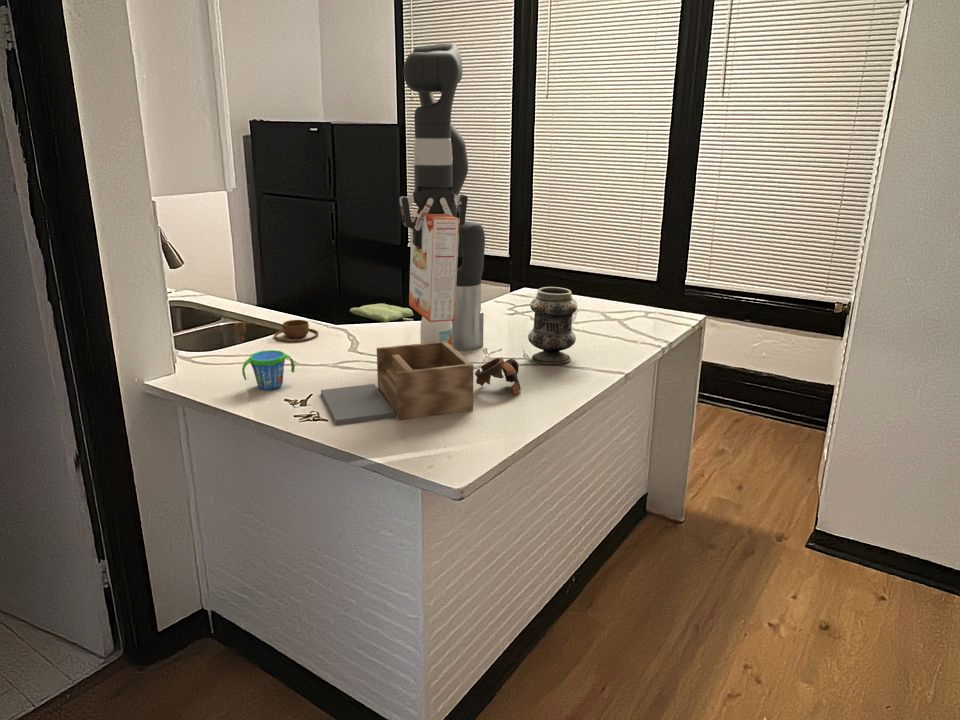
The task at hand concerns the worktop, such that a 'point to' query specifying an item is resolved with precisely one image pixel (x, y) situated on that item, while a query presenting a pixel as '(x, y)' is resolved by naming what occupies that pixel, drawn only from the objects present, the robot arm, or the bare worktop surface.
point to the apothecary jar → (552, 325)
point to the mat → (356, 404)
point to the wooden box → (426, 380)
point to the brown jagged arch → (499, 372)
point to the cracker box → (435, 268)
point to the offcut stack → (397, 368)
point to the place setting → (286, 331)
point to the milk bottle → (436, 331)
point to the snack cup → (268, 368)
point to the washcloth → (382, 312)
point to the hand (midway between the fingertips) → (434, 247)
